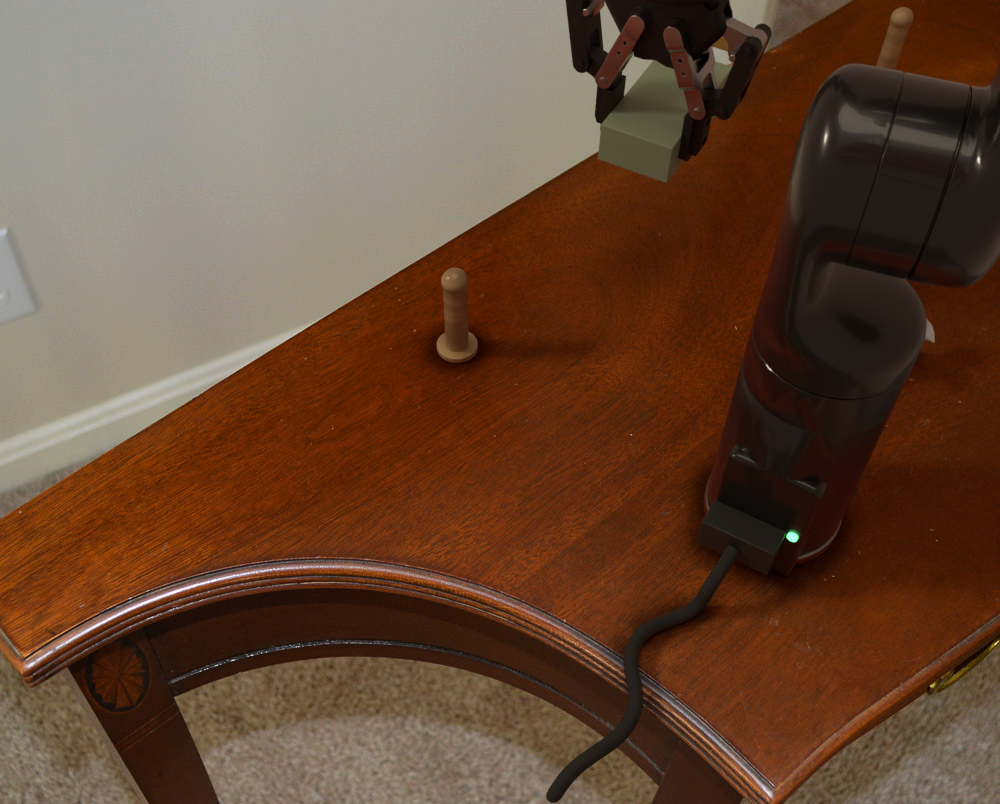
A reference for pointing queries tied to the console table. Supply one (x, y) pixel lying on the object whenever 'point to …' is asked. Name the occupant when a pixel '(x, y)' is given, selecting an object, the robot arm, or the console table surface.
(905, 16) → the right peg
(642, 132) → the grey-green bar
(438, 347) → the left peg
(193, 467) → the console table surface
